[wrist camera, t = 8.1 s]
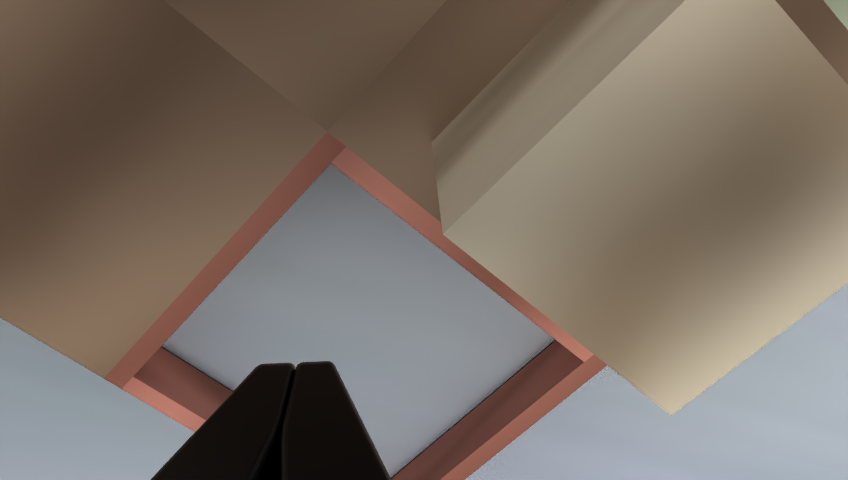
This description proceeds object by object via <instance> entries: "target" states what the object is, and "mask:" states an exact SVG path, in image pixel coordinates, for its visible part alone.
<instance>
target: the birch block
mask: <svg viewBox="0 0 848 480" xmlns="http://www.w3.org/2000/svg"><path fill="white" fill-rule="evenodd" d="M432 149H433V158H434V166H435V174H436V182H437V191H438V199H439V207H440V216H441V224H442V232H443V235H444V236H445V237H447V238H448V239H449V240H450V241H452V242H453V243H454V244H455V245H457V246H458V247H459V248H460V249H462V250H463V251H464V252H466V253H467V254H468V255H469V256H471V257H472V258H473V259H474V260H476V261H477V262H478V263H479V264H481V265H482V266H483V267H484V268H486V269H487V270H488V271H489V272H491V273H492V274H493V275H494V276H496V277H497V278H498V279H500V280H501V281H502V282H503V283H505V284H506V285H507V286H508V287H510V288H511V289H512V290H513V291H515V292H516V293H517V294H518V295H520V296H521V297H522V298H523V299H525V300H526V301H527V302H529V303H530V304H531V305H532V306H534V307H535V308H536V309H537V310H539V311H540V312H541V313H542V314H544V315H545V316H546V317H547V318H549V319H550V320H551V321H552V322H554V323H555V324H556V325H557V326H559V327H560V328H561V329H563V330H564V331H565V332H566V333H568V334H569V335H570V336H571V337H573V338H574V339H575V340H576V341H578V342H579V343H580V344H581V345H583V346H584V347H585V348H586V349H588V350H589V351H590V352H592V353H593V354H594V355H595V356H597V357H598V358H599V359H600V360H602V361H603V362H604V363H605V364H607V365H608V366H609V367H610V368H612V369H613V370H614V371H615V372H617V373H618V374H619V375H620V376H622V377H623V378H624V379H626V380H627V381H628V382H629V383H631V384H632V385H633V386H634V387H636V388H637V389H638V390H639V391H641V392H642V393H643V394H644V395H646V396H647V397H648V398H649V399H651V400H652V401H653V402H654V403H656V404H657V405H658V406H660V407H661V408H662V409H663V410H665V411H666V412H667V413H668V414H670V415H672V414H674V413H675V412H676V411H678V410H679V409H680V408H682V407H683V406H684V405H686V404H687V403H688V402H690V401H691V400H692V399H694V398H695V397H696V396H698V395H699V394H700V393H702V392H703V391H704V390H706V389H707V388H708V387H710V386H711V385H712V384H714V383H715V382H716V381H718V380H719V379H720V378H722V377H723V376H724V375H726V374H727V373H728V372H730V371H731V370H732V369H734V368H735V367H736V366H738V365H739V364H740V363H742V362H743V361H744V360H746V359H747V358H748V357H750V356H751V355H752V354H754V353H755V352H756V351H758V350H759V349H760V348H762V347H763V346H764V345H766V344H767V343H768V342H770V341H771V340H772V339H774V338H775V337H776V336H778V335H779V334H780V333H782V332H783V331H784V330H786V329H787V328H788V327H790V326H791V325H792V324H794V323H795V322H796V321H798V320H799V319H800V318H802V317H803V316H804V315H806V314H807V313H808V312H810V311H811V310H812V309H814V308H815V307H816V306H818V305H819V304H820V303H822V302H823V301H824V300H826V299H827V298H828V297H830V296H831V295H832V294H834V293H835V292H836V291H838V290H839V289H840V288H842V287H843V286H844V285H846V284H847V283H848V85H847V83H846V82H845V81H844V80H843V79H842V78H841V76H840V75H839V74H838V73H837V72H836V71H835V69H834V68H833V67H832V66H831V65H830V64H829V62H828V61H827V60H826V59H825V58H824V57H823V55H822V54H821V53H820V52H819V51H818V50H817V48H816V47H815V46H814V45H813V44H812V43H811V41H810V40H809V39H808V38H807V37H806V36H805V34H804V33H803V32H802V31H801V30H800V29H799V27H798V26H797V25H796V24H795V23H794V22H793V20H792V19H791V18H790V17H789V16H788V15H787V13H786V12H785V11H784V10H783V9H782V8H781V6H780V5H779V4H778V3H777V2H776V1H775V0H569V1H568V2H567V3H566V5H565V6H564V7H563V8H562V9H561V10H560V11H559V12H558V13H557V14H556V15H555V16H554V17H553V18H552V19H551V20H550V21H549V22H548V23H547V24H546V25H545V26H544V27H543V28H542V29H541V30H540V31H539V32H538V33H537V34H536V35H535V36H534V37H533V38H532V39H531V41H530V42H529V43H528V44H527V45H526V46H525V47H524V48H523V49H522V50H521V51H520V52H519V53H518V54H517V55H516V56H515V57H514V58H513V59H512V60H511V61H510V62H509V63H508V64H507V65H506V66H505V67H504V68H503V69H502V70H501V71H500V72H499V73H498V74H497V75H496V77H495V78H494V79H493V80H492V81H491V82H490V83H489V84H488V85H487V86H486V87H485V88H484V89H483V90H482V91H481V92H480V93H479V94H478V95H477V96H476V97H475V98H474V99H473V100H472V101H471V102H470V103H469V104H468V105H467V106H466V107H465V108H464V109H463V110H462V111H461V113H460V114H459V115H458V116H457V117H456V118H455V119H454V120H453V121H452V122H451V123H450V124H449V125H448V126H447V127H446V128H445V129H444V130H443V131H442V132H441V133H440V134H439V135H438V136H437V137H436V138H435V139H434V140H433V141H432Z"/></svg>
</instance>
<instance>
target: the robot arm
mask: <svg viewBox="0 0 848 480" xmlns="http://www.w3.org/2000/svg"><path fill="white" fill-rule="evenodd" d="M151 480H391V478H390V476H389V474H388V472H387V470H386V468H385V466H384V464H383V462H382V460H381V458H380V456H379V454H378V452H377V450H376V448H375V446H374V444H373V442H372V440H371V438H370V436H369V434H368V432H367V430H366V428H365V426H364V424H363V422H362V420H361V417H360V415H359V413H358V411H357V409H356V407H355V405H354V403H353V401H352V399H351V397H350V395H349V393H348V391H347V389H346V387H345V385H344V383H343V381H342V379H341V377H340V375H339V373H338V371H337V369H336V367H335V365H334V364H333V363H332V362H330V361H319V362H302V363H300V364H298V365H297V367H295V366H294V365H293V364H292V363H273V364H261V365H259V366H257V367H256V368H255V369H254V370H253V371H252V372H251V373H250V374H249V375H248V376H247V377H246V379H245V380H244V381H243V382H242V383H241V384H240V385H239V386H238V387H237V388H236V389H235V390H234V391H233V392H232V393H231V394H230V396H229V397H228V398H227V399H226V400H225V401H224V402H223V403H222V404H221V405H220V406H219V407H218V408H217V409H216V410H215V412H214V413H213V414H212V415H211V416H210V417H209V418H208V419H207V420H206V421H205V422H204V423H203V424H202V425H201V426H200V428H199V429H198V430H197V431H196V432H195V433H194V434H193V435H192V436H191V437H190V438H189V439H188V440H187V441H186V442H185V444H184V445H183V446H182V447H181V448H180V449H179V450H178V451H177V452H176V453H175V454H174V455H173V456H172V457H171V458H170V460H169V461H168V462H167V463H166V464H165V465H164V466H163V467H162V468H161V469H160V470H159V471H158V472H157V473H156V474H155V476H154V477H153V478H152V479H151Z"/></svg>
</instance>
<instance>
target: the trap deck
mask: <svg viewBox="0 0 848 480" xmlns="http://www.w3.org/2000/svg"><path fill="white" fill-rule="evenodd" d="M568 1H569V0H0V318H2V319H4V320H5V321H7V322H9V323H11V324H12V325H14V326H16V327H17V328H19V329H21V330H22V331H24V332H26V333H28V334H29V335H31V336H33V337H34V338H36V339H38V340H39V341H41V342H43V343H44V344H46V345H48V346H50V347H51V348H53V349H55V350H56V351H58V352H60V353H61V354H63V355H65V356H67V357H68V358H70V359H72V360H73V361H75V362H77V363H78V364H80V365H82V366H84V367H85V368H87V369H89V370H90V371H92V372H94V373H95V374H97V375H99V376H101V377H102V378H104V379H106V380H107V381H109V382H111V383H112V384H114V385H116V386H117V387H119V388H121V389H123V390H124V391H126V392H128V393H129V394H131V395H133V396H134V397H136V398H138V399H140V400H141V401H143V402H145V403H146V404H148V405H150V406H151V407H153V408H155V409H157V410H158V411H160V412H162V413H163V414H165V415H167V416H168V417H170V418H172V419H174V420H175V421H177V422H179V423H180V424H182V425H184V426H185V427H187V428H189V429H190V430H192V431H194V432H196V431H197V430H198V429H199V428H200V426H201V425H202V424H203V423H204V422H205V421H206V420H207V419H208V418H209V417H210V416H211V415H212V414H213V413H214V412H215V410H216V409H217V408H218V407H219V406H220V405H221V404H222V403H223V402H224V401H225V400H226V399H227V398H228V397H229V396H230V394H231V393H232V391H231V390H229V389H227V388H226V387H224V386H223V385H221V384H219V383H218V382H216V381H215V380H213V379H211V378H210V377H208V376H207V375H205V374H203V373H202V372H200V371H199V370H197V369H195V368H194V367H192V366H191V365H189V364H187V363H186V362H184V361H182V360H181V359H179V358H178V357H176V356H174V355H173V354H171V353H170V352H168V351H166V350H165V349H163V348H162V347H161V346H162V345H163V344H164V343H165V342H166V341H167V339H168V338H169V337H170V336H171V335H172V334H173V333H174V332H175V331H176V330H177V329H178V328H179V327H180V325H181V324H182V323H183V322H184V321H185V320H186V319H187V318H188V317H189V316H190V315H191V314H192V312H193V311H194V310H195V309H196V308H197V307H198V306H199V305H200V304H201V303H202V302H203V301H204V300H205V298H206V297H207V296H208V295H209V294H210V293H211V292H212V291H213V290H214V289H215V288H216V287H217V285H218V284H219V283H220V282H221V281H222V280H223V279H224V278H225V277H226V276H227V275H228V274H229V273H230V271H231V270H232V269H233V268H234V267H235V266H236V265H237V264H238V263H239V262H240V261H241V260H242V258H243V257H244V256H245V255H246V254H247V253H248V252H249V251H250V250H251V249H252V248H253V247H254V246H255V244H256V243H257V242H258V241H259V240H260V239H261V238H262V237H263V236H264V235H265V234H266V233H267V231H268V230H269V229H270V228H271V227H272V226H273V225H274V224H275V223H276V222H277V221H278V220H279V218H280V217H281V216H282V215H283V214H284V213H285V212H286V211H287V210H288V209H289V208H290V207H291V206H292V204H293V203H294V202H295V201H296V200H297V199H298V198H299V197H300V196H301V195H302V194H303V193H304V191H305V190H306V189H307V188H308V187H309V186H310V185H311V184H312V183H313V182H314V181H315V180H316V179H317V177H318V176H319V175H320V174H321V173H322V172H323V171H324V170H325V169H326V168H327V167H328V166H329V164H330V163H331V164H333V165H334V166H335V167H336V168H338V169H339V170H340V171H342V172H343V173H344V174H345V175H347V176H348V177H349V178H350V179H352V180H353V181H354V182H356V183H357V184H358V185H359V186H361V187H362V188H363V189H364V190H366V191H367V192H368V193H370V194H371V195H372V196H373V197H375V198H376V199H377V200H378V201H380V202H381V203H382V204H384V205H385V206H386V207H387V208H389V209H390V210H391V211H392V212H394V213H395V214H396V215H398V216H399V217H400V218H401V219H403V220H404V221H405V222H406V223H408V224H409V225H410V226H412V227H413V228H414V229H415V230H417V231H418V232H419V233H420V234H422V235H423V236H424V237H426V238H427V239H428V240H429V241H431V242H432V243H433V244H434V245H436V246H437V247H438V248H440V249H441V250H442V251H443V252H445V253H446V254H447V255H448V256H450V257H451V258H452V259H454V260H455V261H456V262H457V263H459V264H460V265H461V266H462V267H464V268H465V269H466V270H468V271H469V272H470V273H471V274H473V275H474V276H475V277H476V278H478V279H479V280H480V281H482V282H483V283H484V284H485V285H487V286H488V287H489V288H490V289H492V290H493V291H494V292H496V293H497V294H498V295H499V296H501V297H502V298H503V299H504V300H506V301H507V302H508V303H510V304H511V305H512V306H513V307H515V308H516V309H517V310H518V311H520V312H521V313H522V314H524V315H525V316H526V317H527V318H529V319H530V320H531V321H532V322H534V323H535V324H536V325H538V326H539V327H540V328H541V329H543V330H544V331H545V332H546V333H548V334H549V335H550V336H552V337H553V338H554V339H555V340H556V341H554V342H553V343H552V344H551V345H550V346H549V347H547V348H546V349H545V350H544V351H543V352H541V353H540V354H539V355H538V356H537V357H535V358H534V359H533V360H532V361H531V362H529V363H528V364H527V365H526V366H525V367H524V368H522V369H521V370H520V371H519V372H518V373H516V374H515V375H514V376H513V377H512V378H510V379H509V380H508V381H507V382H506V383H505V384H503V385H502V386H501V387H500V388H499V389H497V390H496V391H495V392H494V393H493V394H491V395H490V396H489V397H488V398H487V399H485V400H484V401H483V402H482V403H481V404H480V405H478V406H477V407H476V408H475V409H474V410H472V411H471V412H470V413H469V414H468V415H466V416H465V417H464V418H463V419H462V420H460V421H459V422H458V423H457V424H456V425H455V426H453V427H452V428H451V429H450V430H449V431H447V432H446V433H445V434H444V435H443V436H441V437H440V438H439V439H438V440H437V441H436V442H434V443H433V444H432V445H431V446H430V447H428V448H427V449H426V450H425V451H424V452H422V453H421V454H420V455H419V456H418V457H416V458H415V459H414V460H413V461H412V462H411V463H409V464H408V465H407V466H406V467H405V468H403V469H402V470H401V471H400V472H399V473H397V474H396V475H395V476H394V477H393V478H391V480H465V479H466V478H467V477H468V476H470V475H471V474H472V473H473V472H475V471H476V470H477V469H478V468H480V467H481V466H482V465H483V464H485V463H486V462H487V461H488V460H490V459H491V458H492V457H493V456H495V455H496V454H497V453H498V452H500V451H501V450H502V449H503V448H505V447H506V446H507V445H508V444H510V443H511V442H512V441H513V440H515V439H516V438H517V437H518V436H520V435H521V434H522V433H523V432H524V431H526V430H527V429H528V428H529V427H531V426H532V425H533V424H534V423H536V422H537V421H538V420H539V419H541V418H542V417H543V416H544V415H546V414H547V413H548V412H549V411H551V410H552V409H553V408H554V407H556V406H557V405H558V404H559V403H561V402H562V401H563V400H564V399H566V398H567V397H568V396H569V395H571V394H572V393H573V392H574V391H576V390H577V389H578V388H579V387H581V386H582V385H583V384H584V383H586V382H587V381H588V380H589V379H590V378H592V377H593V376H594V375H595V374H597V373H598V372H599V371H600V370H602V369H603V368H604V367H605V366H607V364H605V363H604V362H603V361H602V360H600V359H599V358H598V357H597V356H595V355H594V354H593V353H592V352H590V351H589V350H588V349H586V348H585V347H584V346H583V345H581V344H580V343H579V342H578V341H576V340H575V339H574V338H573V337H571V336H570V335H569V334H568V333H566V332H565V331H564V330H563V329H561V328H560V327H559V326H557V325H556V324H555V323H554V322H552V321H551V320H550V319H549V318H547V317H546V316H545V315H544V314H542V313H541V312H540V311H539V310H537V309H536V308H535V307H534V306H532V305H531V304H530V303H529V302H527V301H526V300H525V299H523V298H522V297H521V296H520V295H518V294H517V293H516V292H515V291H513V290H512V289H511V288H510V287H508V286H507V285H506V284H505V283H503V282H502V281H501V280H500V279H498V278H497V277H496V276H494V275H493V274H492V273H491V272H489V271H488V270H487V269H486V268H484V267H483V266H482V265H481V264H479V263H478V262H477V261H476V260H474V259H473V258H472V257H471V256H469V255H468V254H467V253H466V252H464V251H463V250H462V249H460V248H459V247H458V246H457V245H455V244H454V243H453V242H452V241H450V240H449V239H448V238H447V237H445V236H444V235H443V232H442V224H441V216H440V207H439V199H438V191H437V182H436V174H435V166H434V158H433V149H432V141H433V140H434V139H435V138H436V137H437V136H438V135H439V134H440V133H441V132H442V131H443V130H444V129H445V128H446V127H447V126H448V125H449V124H450V123H451V122H452V121H453V120H454V119H455V118H456V117H457V116H458V115H459V114H460V113H461V111H462V110H463V109H464V108H465V107H466V106H467V105H468V104H469V103H470V102H471V101H472V100H473V99H474V98H475V97H476V96H477V95H478V94H479V93H480V92H481V91H482V90H483V89H484V88H485V87H486V86H487V85H488V84H489V83H490V82H491V81H492V80H493V79H494V78H495V77H496V75H497V74H498V73H499V72H500V71H501V70H502V69H503V68H504V67H505V66H506V65H507V64H508V63H509V62H510V61H511V60H512V59H513V58H514V57H515V56H516V55H517V54H518V53H519V52H520V51H521V50H522V49H523V48H524V47H525V46H526V45H527V44H528V43H529V42H530V41H531V39H532V38H533V37H534V36H535V35H536V34H537V33H538V32H539V31H540V30H541V29H542V28H543V27H544V26H545V25H546V24H547V23H548V22H549V21H550V20H551V19H552V18H553V17H554V16H555V15H556V14H557V13H558V12H559V11H560V10H561V9H562V8H563V7H564V6H565V5H566V3H567V2H568ZM775 1H776V2H777V3H778V4H779V5H780V6H781V8H782V9H783V10H784V11H785V12H786V13H787V15H788V16H789V17H790V18H791V19H792V20H793V22H794V23H795V24H796V25H797V26H798V27H799V29H800V30H801V31H802V32H803V33H804V34H805V36H806V37H807V38H808V39H809V40H810V41H811V43H812V44H813V45H814V46H815V47H816V48H817V50H818V51H819V52H820V53H821V54H822V55H823V57H824V58H825V59H826V60H827V61H828V62H829V64H830V65H831V66H832V67H833V68H834V69H835V71H836V72H837V73H838V74H839V75H840V76H841V78H842V79H843V80H844V81H845V82H846V83H847V85H848V0H775Z"/></svg>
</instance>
